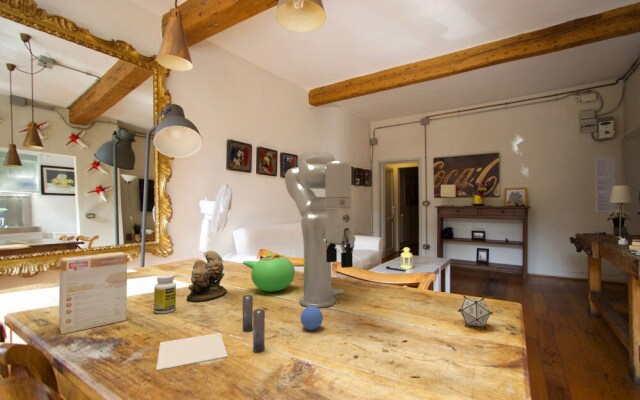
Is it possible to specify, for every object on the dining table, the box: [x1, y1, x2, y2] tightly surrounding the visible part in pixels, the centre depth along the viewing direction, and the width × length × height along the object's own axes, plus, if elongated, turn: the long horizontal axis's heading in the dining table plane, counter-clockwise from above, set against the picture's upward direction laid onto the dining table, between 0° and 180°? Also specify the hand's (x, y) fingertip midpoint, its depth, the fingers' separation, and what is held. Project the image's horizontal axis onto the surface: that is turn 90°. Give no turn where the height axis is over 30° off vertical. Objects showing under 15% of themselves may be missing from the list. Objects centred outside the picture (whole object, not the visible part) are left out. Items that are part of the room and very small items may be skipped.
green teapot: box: [242, 252, 296, 293], centre depth 124 cm, size 18×17×15 cm
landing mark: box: [155, 332, 229, 371], centre depth 72 cm, size 14×14×1 cm
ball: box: [300, 306, 324, 331], centre depth 84 cm, size 6×6×6 cm
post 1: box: [242, 294, 254, 333], centre depth 84 cm, size 3×3×9 cm
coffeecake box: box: [58, 251, 128, 335], centre depth 88 cm, size 15×7×20 cm, turn 134°
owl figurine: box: [186, 250, 227, 304], centre depth 117 cm, size 18×12×17 cm, turn 166°
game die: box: [457, 295, 494, 330], centre depth 86 cm, size 9×8×10 cm
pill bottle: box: [153, 274, 177, 315], centre depth 99 cm, size 6×6×11 cm
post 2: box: [252, 308, 266, 354], centre depth 72 cm, size 3×3×9 cm
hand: (338, 264), depth 88 cm, fingers open, 9 cm apart
